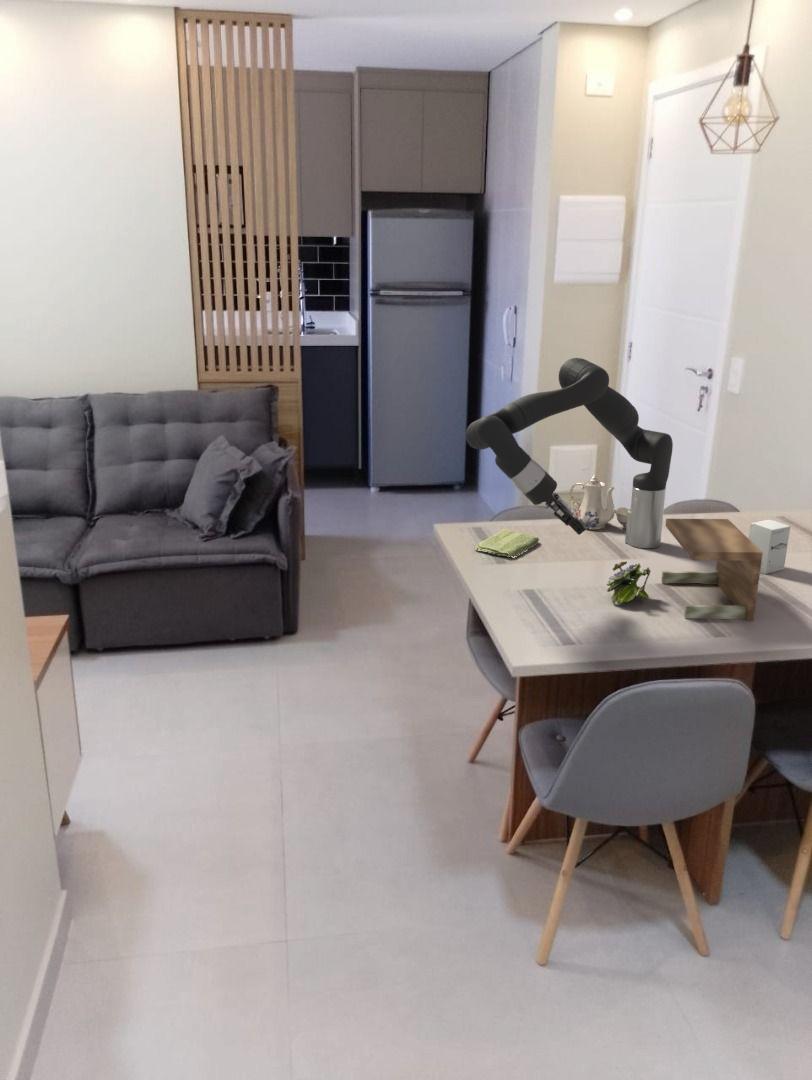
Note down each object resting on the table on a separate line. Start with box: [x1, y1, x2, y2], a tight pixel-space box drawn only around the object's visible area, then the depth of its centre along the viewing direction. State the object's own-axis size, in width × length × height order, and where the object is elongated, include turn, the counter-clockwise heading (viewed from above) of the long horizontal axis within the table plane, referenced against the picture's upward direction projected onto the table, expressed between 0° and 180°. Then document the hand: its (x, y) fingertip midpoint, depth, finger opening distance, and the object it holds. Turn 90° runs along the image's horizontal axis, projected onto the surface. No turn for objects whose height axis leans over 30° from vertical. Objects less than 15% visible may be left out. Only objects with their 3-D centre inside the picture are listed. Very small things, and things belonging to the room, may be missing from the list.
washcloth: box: [474, 528, 540, 558], centre depth 254 cm, size 13×18×3 cm
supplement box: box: [747, 519, 791, 575], centre depth 236 cm, size 7×7×13 cm
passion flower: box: [606, 561, 651, 606], centre depth 217 cm, size 11×11×12 cm
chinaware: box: [566, 474, 631, 530], centre depth 274 cm, size 28×17×17 cm, turn 46°
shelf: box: [660, 518, 763, 622], centre depth 215 cm, size 16×25×17 cm, turn 178°
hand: (581, 530), depth 213 cm, fingers closed
